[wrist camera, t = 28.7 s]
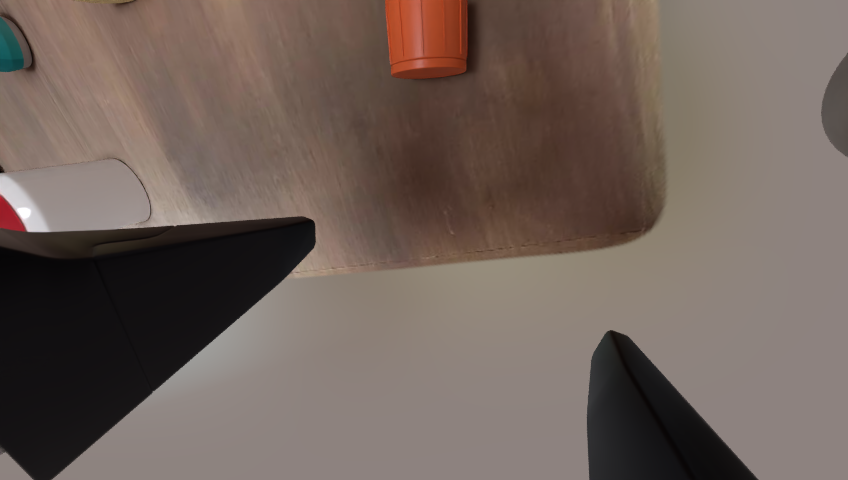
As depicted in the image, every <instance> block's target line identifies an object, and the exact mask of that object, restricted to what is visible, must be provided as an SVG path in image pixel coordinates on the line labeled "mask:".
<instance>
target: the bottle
mask: <svg viewBox="0 0 848 480" xmlns="http://www.w3.org/2000/svg"><path fill="white" fill-rule="evenodd" d="M74 1H81V2H90V3H124V2H130V1H133V0H74Z"/></svg>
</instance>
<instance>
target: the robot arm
mask: <svg viewBox="0 0 848 480" xmlns="http://www.w3.org/2000/svg"><path fill="white" fill-rule="evenodd" d="M315 243H316V237H315V223H314V221H313V220H311V219H309V218H306V217H303V216H300V217H286V218H273V219H259V220H245V221H232V222H218V223H204V224H190V225H177V226H162V227H147V228H131V229H110V230H85V231H60V232H25V231H16V230H9V229H4V228H0V455H1V454H3V453H4V452H6V453H7V454H8V455H9V456H10V457H11V458H12V459H13V460H14V461H15V462H16V463H17V464H18V465H19V466H20V467H21V468H22V469H23V470H24V471H25V472H26V473H27V474H28V475H29V476H30V477H31V478H32V479H33V480H52V479H53V478H54V477H55V476H57V475H58V474H59V473H60V472H61V471H62V470H64V469H65V468H66V467H67V466H68V465H69V464H71V463H72V462H73V461H74V460H75V459H76V458H78V457H79V456H80V455H81V454H82V453H83V452H84V451H86V450H87V449H88V448H89V447H90V446H91V445H93V444H94V443H95V442H96V441H97V440H98V439H100V438H101V437H102V436H103V435H104V434H105V433H107V432H108V431H109V430H110V429H111V428H112V427H113V426H115V425H116V424H117V423H118V422H119V421H120V420H122V419H123V418H124V417H125V416H126V415H127V414H129V413H130V412H131V411H132V410H133V409H134V408H136V407H137V406H138V405H139V404H140V403H141V402H143V401H144V400H145V399H146V398H147V397H148V396H149V395H150V394H152V392H153V391H155V390H156V389H157V388H158V387H160V386H161V385H162V384H163V383H164V382H165V381H166V380H168V379H169V378H170V377H171V376H172V375H173V374H175V373H176V372H177V371H178V370H179V369H180V368H182V367H183V366H184V365H185V364H186V363H187V362H189V361H190V360H191V359H192V358H193V357H194V356H196V354H198V353H199V352H200V351H201V350H202V349H204V348H205V347H206V346H207V345H208V344H209V343H211V342H212V341H213V340H214V339H215V338H216V337H218V336H219V335H220V334H221V333H222V332H223V331H225V330H226V329H227V328H228V327H229V326H230V325H232V324H233V323H234V322H235V321H236V320H237V319H239V318H240V316H242V315H243V314H244V313H245V312H247V311H248V310H249V309H250V308H251V307H252V306H253V305H255V304H256V303H257V302H258V301H259V300H261V299H262V298H263V297H264V296H265V295H266V294H268V293H269V292H270V291H271V290H272V289H273V288H275V287H276V286H277V285H278V284H279V283H280V282H281V281H282V280H283V279H284V278H285V277H286V276H288V274H289V273H290V272H291V271H292V270H293V269H294V268H295V267H296V266H297V265H298V264H299V263H300V262H301V261H302V260H303V259H304V258H305V257H306V256H307V255H308V254H309V253H310V251H311V250H312V249H313V248H314V246H315ZM587 437H588V457H589V458H588V459H589V480H758V479H757V478H756V477H755V476H754V474H753V473H752V472H751V471H750V470H749V469H748V468H747V467H746V466H745V465H744V463H743V462H742V461H741V460H740V459H739V458H738V457H737V456H736V455H735V453H734V452H733V451H732V450H731V449H730V448H729V447H728V446H727V445H726V443H725V442H723V440H722V439H721V438H720V437H719V436H718V435H717V434H716V432H715V431H714V430H713V429H712V428H711V427H710V426H709V425H708V424H707V423H706V421H705V420H704V419H703V418H702V417H701V416H700V415H699V414H698V413H697V412H696V410H695V409H694V408H693V407H692V406H691V405H690V404H689V403H688V402H687V401H686V400H685V398H684V397H682V395H681V394H680V393H679V392H678V391H677V389H676V388H675V387H674V386H673V385H672V384H671V383H670V382H669V381H668V380H667V379H666V377H665V376H664V375H663V374H662V373H661V372H660V371H659V370H658V369H657V368H656V366H654V364H653V363H652V362H651V361H650V360H649V359H648V358H647V357H646V356H645V354H644V353H643V352H642V351H641V350H640V349H639V348H638V347H637V345H636V344H635V343H634V342H633V341H632V340H631V339H630V338H629V337H628V336H626V335H624V334H621V333H618V332H615V331H613V330H610V331H608V332H607V333H606V334H605V335H604V337H603V339H602V340H601V342H600V343H599V345H598V347H597V348H596V350H595V351H594V354H593V356H592V360H591V371H590V383H589V395H588V407H587Z"/></svg>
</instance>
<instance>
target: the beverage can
mask: <svg viewBox="0 0 848 480" xmlns="http://www.w3.org/2000/svg"><path fill="white" fill-rule="evenodd" d="M31 64H32V56H31V52H30V49H29V46H28V44H27V42H26V39H25V38H24V36H23V34H22V33H21V31H20V30H19V28H18V27H17V26H16V25H15V24H14V23H13V22H12V21H10V20H9V19H7V18H5V17H2V16H0V72H11V71H15V70H20V69H24V68H27V67H29V66H30V65H31Z"/></svg>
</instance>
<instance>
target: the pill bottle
mask: <svg viewBox="0 0 848 480" xmlns="http://www.w3.org/2000/svg"><path fill="white" fill-rule="evenodd" d="M149 216H150V203H149V200H148V197H147V194H146V192H145V190H144V188H143V186H142V184H141V182H140V181H139V179H138V178H137V176H136V175H135V174H134V173H133V172H132V170H131V169H130V168H129V167H128V166H126V165H125V164H124V163H122V162H121V161H119V160H117V159H104V160H96V161H88V162H81V163H73V164H65V165H58V166H50V167H42V168H35V169H27V170H19V171H12V172H4V173H0V228H4V229H9V230H16V231H25V232H60V231H85V230H110V229H119V228H122V227H126V226H129V225H133V224H136V223H140V222H143V221H146V220H147V219H148V218H149Z"/></svg>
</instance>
